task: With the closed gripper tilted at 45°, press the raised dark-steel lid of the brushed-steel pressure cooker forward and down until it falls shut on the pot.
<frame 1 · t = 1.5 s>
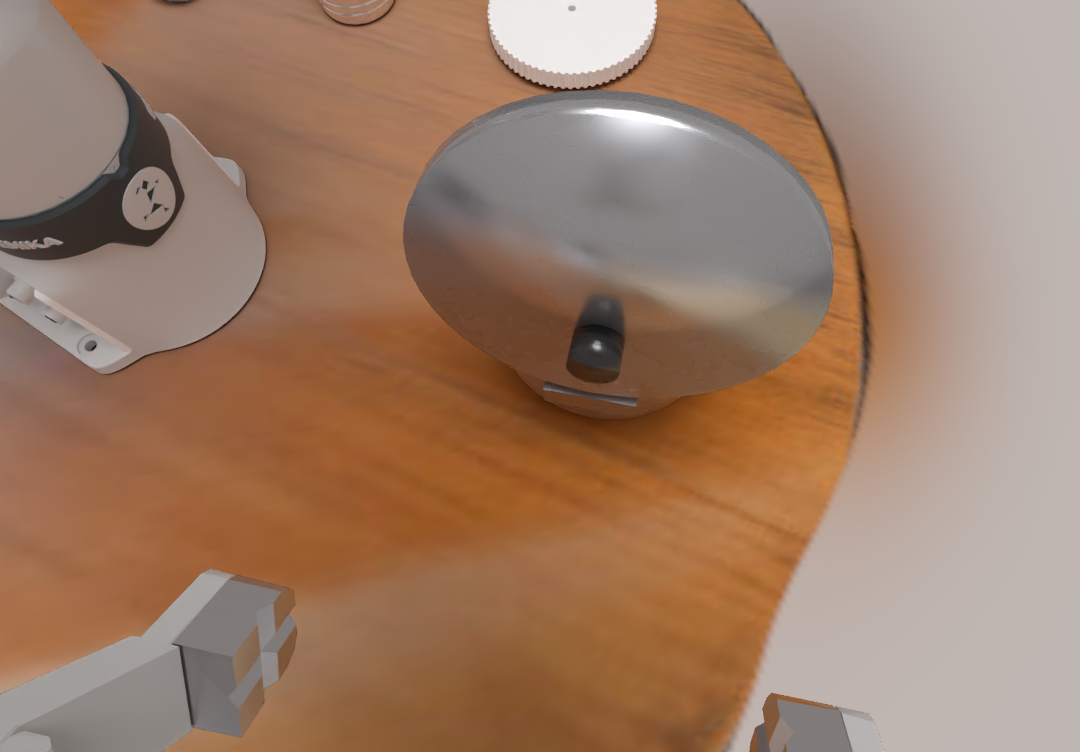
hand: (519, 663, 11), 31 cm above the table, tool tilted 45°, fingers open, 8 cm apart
cooker lid: (604, 297, 27), point 19 cm above the table, hinge at 80.0°
cooker pot: (608, 312, 47), on the table
water bottle: (360, 1, 58), on the table
plastic lid: (571, 35, 57), on the table
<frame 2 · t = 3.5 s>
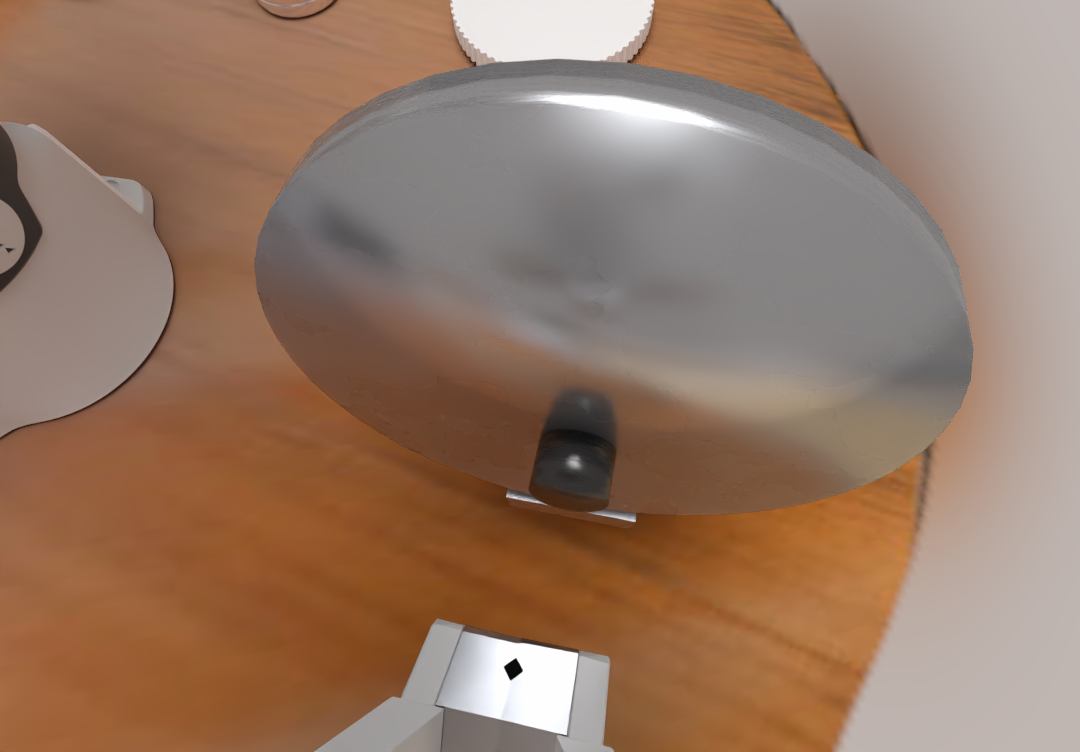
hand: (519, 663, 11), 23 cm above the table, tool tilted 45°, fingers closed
cooker lid: (582, 398, 17), point 19 cm above the table, hinge at 80.0°
cooker pot: (599, 367, 37), on the table
plastic lid: (552, 27, 47), on the table
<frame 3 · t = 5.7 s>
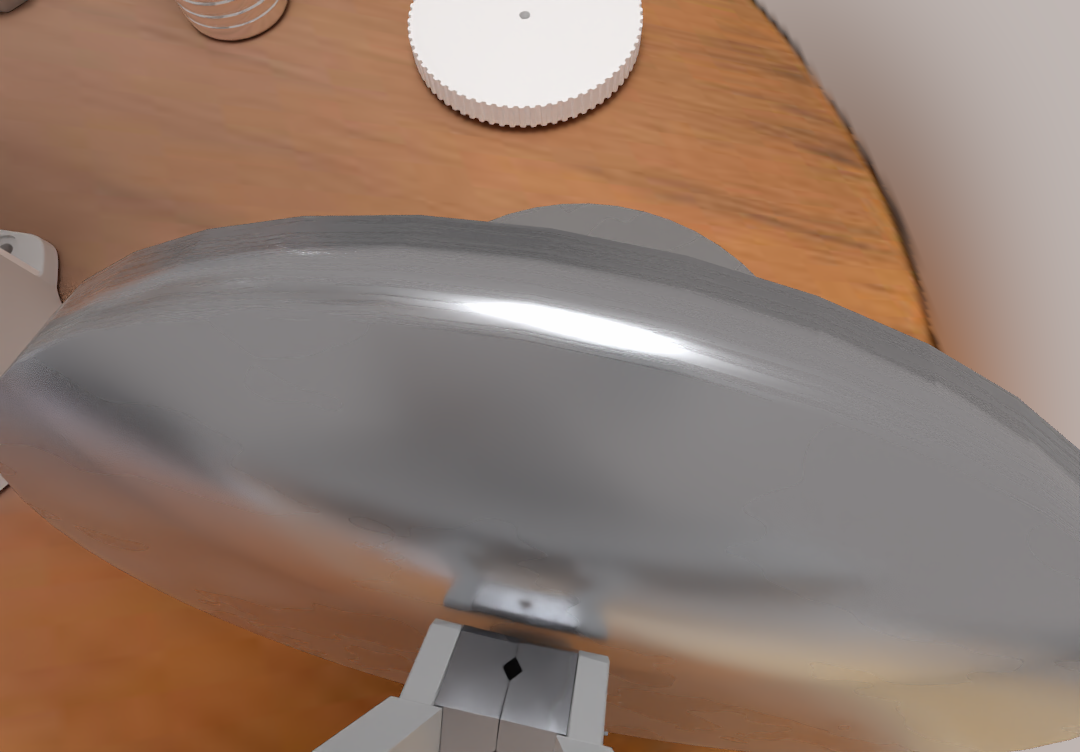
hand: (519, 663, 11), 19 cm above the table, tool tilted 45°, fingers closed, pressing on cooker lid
cooker lid: (519, 652, 11), point 19 cm above the table, hinge at 74.9°, touching gripper
cooker pot: (575, 465, 31), on the table
water bottle: (242, 9, 43), on the table
plastic lid: (527, 52, 41), on the table
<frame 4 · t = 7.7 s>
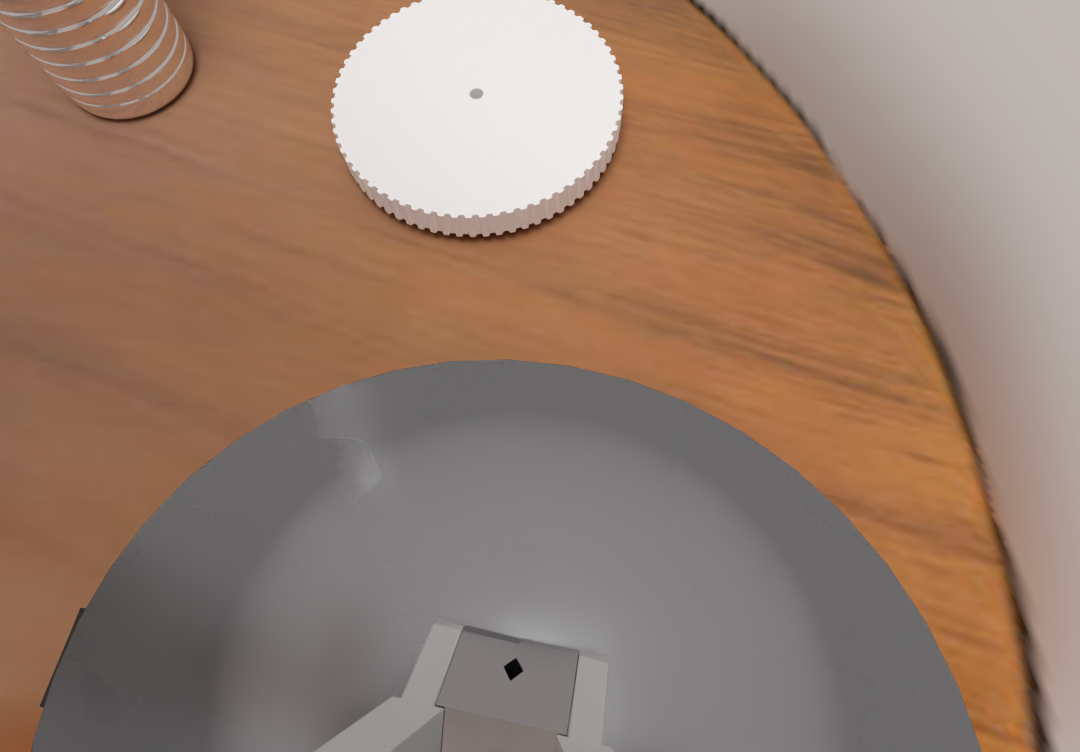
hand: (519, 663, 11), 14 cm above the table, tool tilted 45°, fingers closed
water bottle: (139, 78, 35), on the table
plastic lid: (483, 133, 34), on the table
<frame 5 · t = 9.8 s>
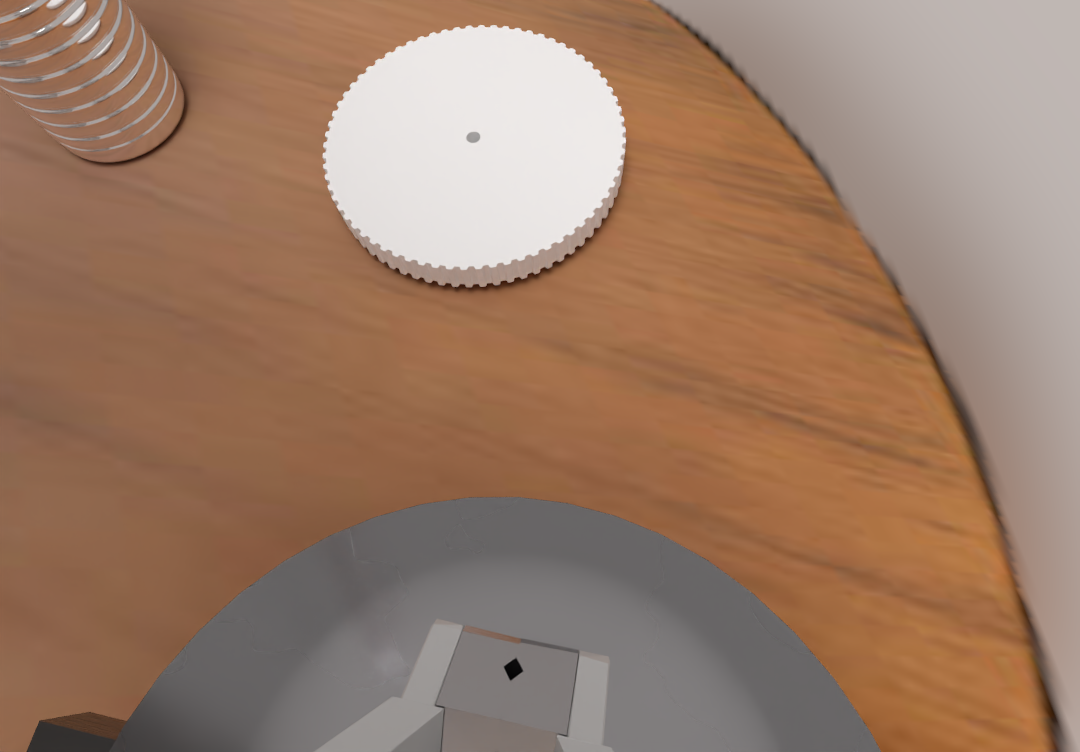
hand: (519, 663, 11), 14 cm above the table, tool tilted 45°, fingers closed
water bottle: (129, 119, 35), on the table
plastic lid: (481, 175, 33), on the table
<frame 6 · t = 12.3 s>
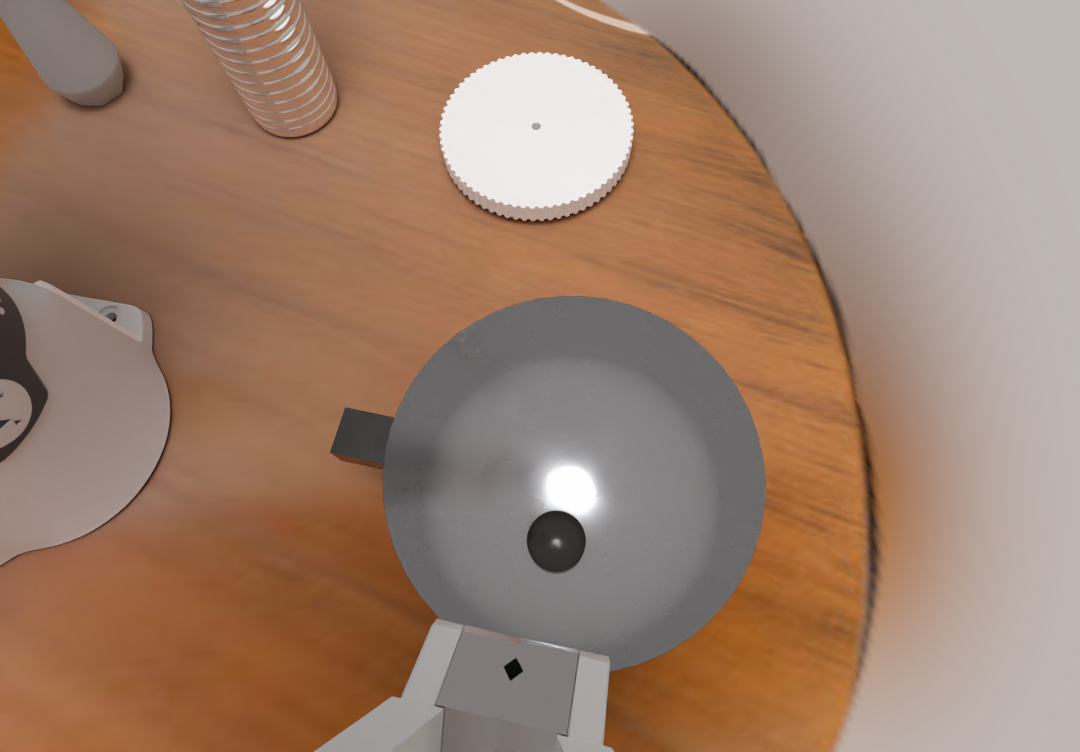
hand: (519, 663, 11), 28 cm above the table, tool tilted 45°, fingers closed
cooker lid: (572, 464, 29), point 11 cm above the table, hinge at -0.1°
cooker pot: (568, 506, 40), on the table
water bottle: (298, 108, 51), on the table
plastic lid: (537, 151, 50), on the table
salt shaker: (101, 89, 52), on the table
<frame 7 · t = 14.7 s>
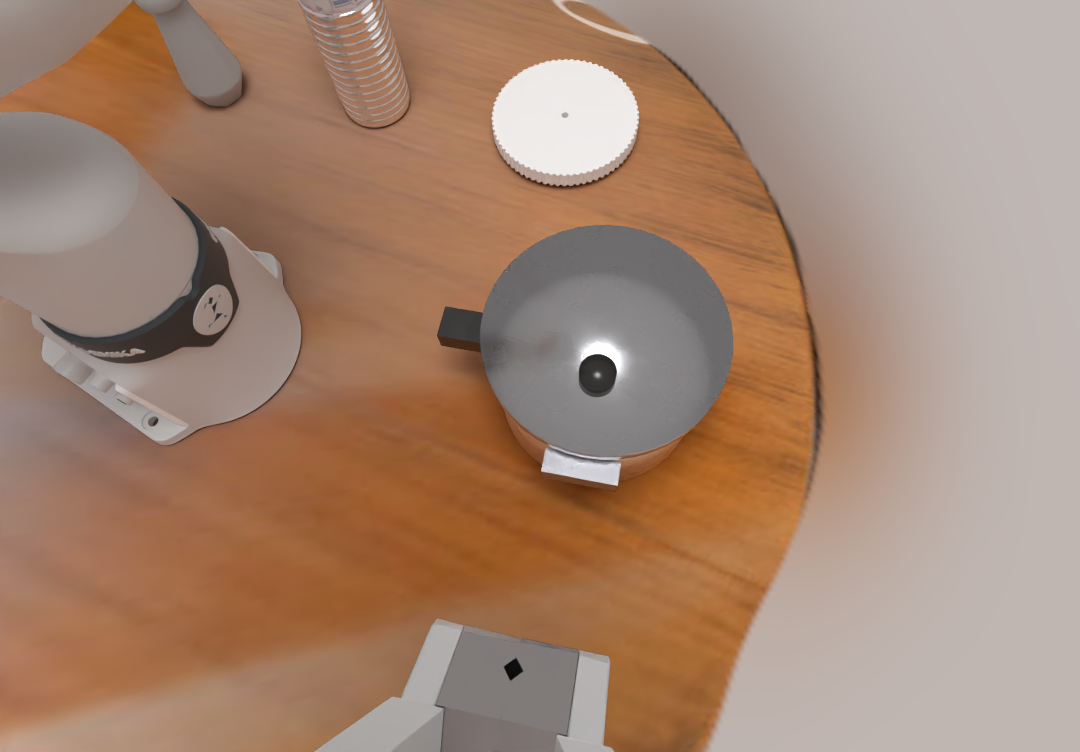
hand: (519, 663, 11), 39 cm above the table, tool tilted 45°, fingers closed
cooker lid: (605, 331, 44), point 11 cm above the table, hinge at -0.1°
cooker pot: (597, 388, 54), on the table
water bottle: (379, 105, 66), on the table
plastic lid: (564, 135, 65), on the table
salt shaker: (224, 93, 68), on the table
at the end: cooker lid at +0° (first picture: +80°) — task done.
